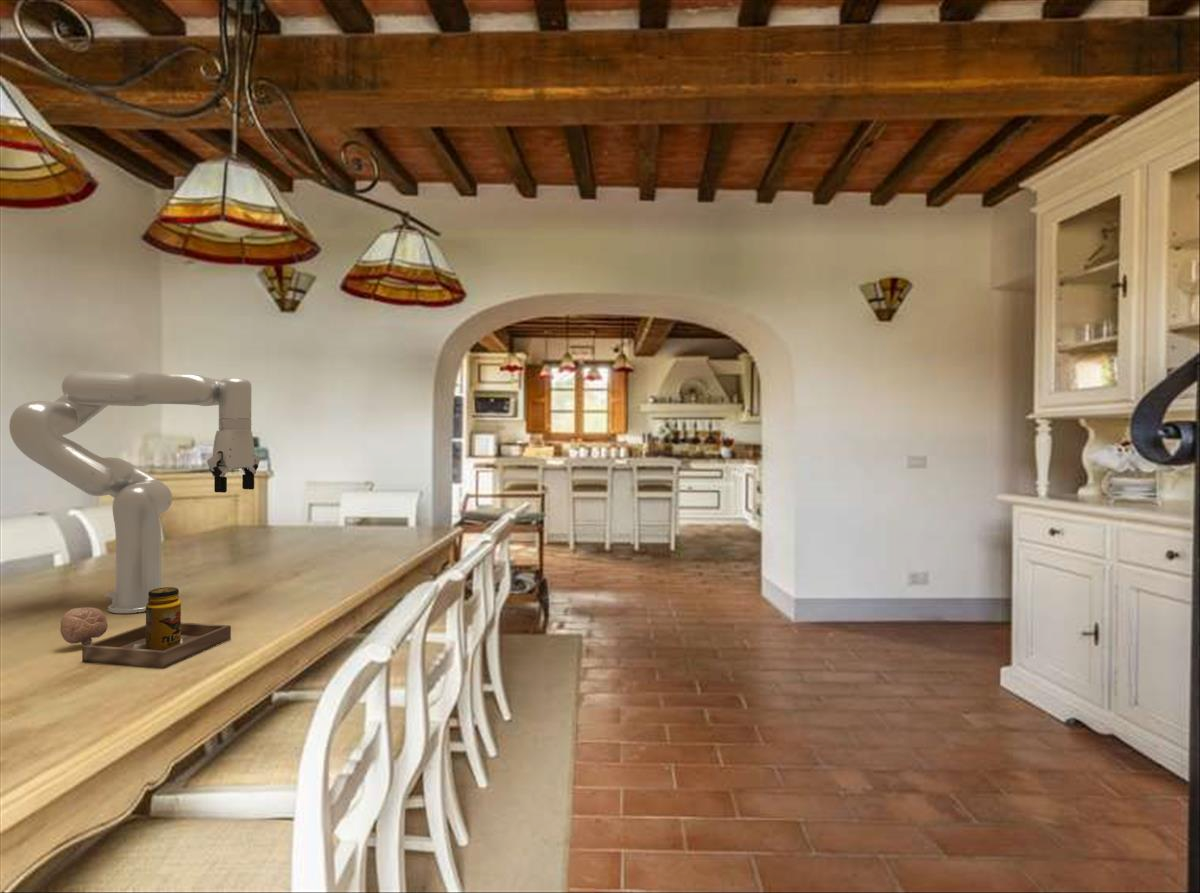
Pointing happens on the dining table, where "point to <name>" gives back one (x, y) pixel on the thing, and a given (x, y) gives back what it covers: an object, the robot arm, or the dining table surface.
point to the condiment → (162, 620)
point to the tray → (124, 652)
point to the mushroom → (83, 625)
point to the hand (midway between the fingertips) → (234, 490)
